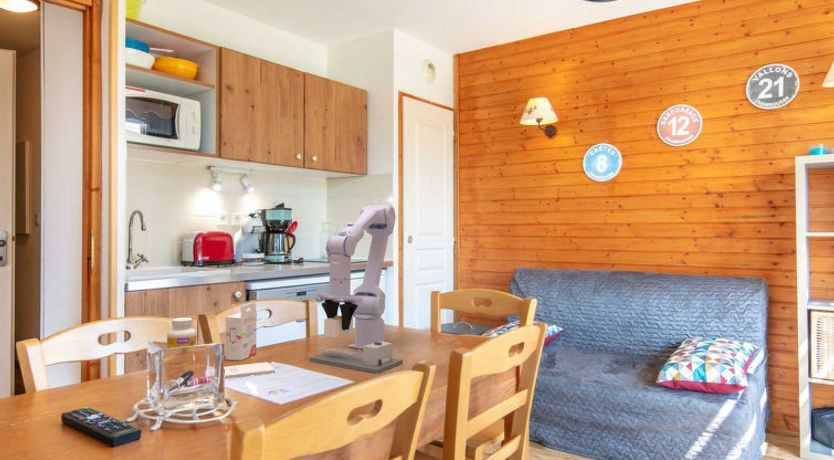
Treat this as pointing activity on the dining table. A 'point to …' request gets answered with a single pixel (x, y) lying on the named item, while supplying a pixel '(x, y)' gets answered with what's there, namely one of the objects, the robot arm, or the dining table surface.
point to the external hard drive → (248, 370)
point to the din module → (335, 326)
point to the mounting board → (354, 363)
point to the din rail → (351, 355)
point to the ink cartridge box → (241, 333)
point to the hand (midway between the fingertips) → (339, 328)
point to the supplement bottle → (181, 333)
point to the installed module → (376, 352)
